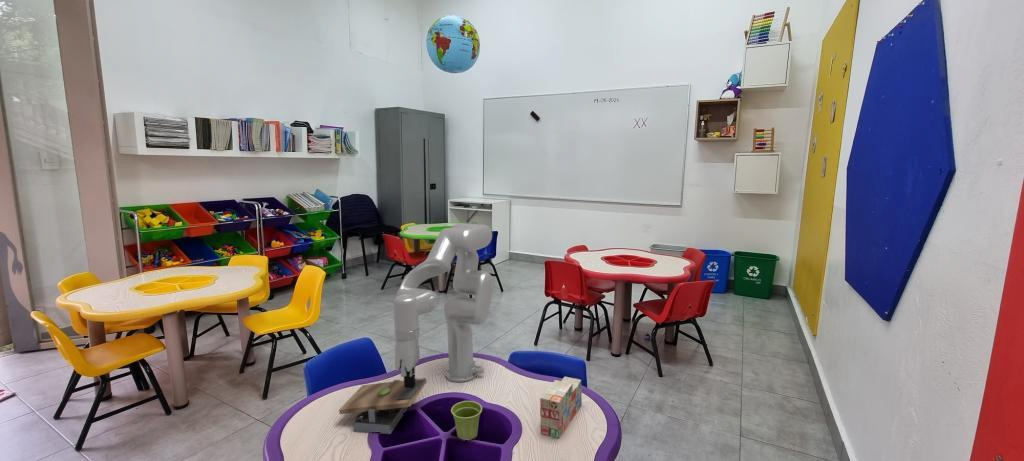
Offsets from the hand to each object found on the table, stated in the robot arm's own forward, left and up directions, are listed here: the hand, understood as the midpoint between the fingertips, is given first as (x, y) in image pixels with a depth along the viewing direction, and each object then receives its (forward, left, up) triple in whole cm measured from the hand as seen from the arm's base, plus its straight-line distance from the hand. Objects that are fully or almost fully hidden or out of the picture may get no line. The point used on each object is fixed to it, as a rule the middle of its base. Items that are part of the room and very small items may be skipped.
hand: (410, 386), depth 147 cm
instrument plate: (+9, 0, -5) cm, 10 cm away
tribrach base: (+9, 0, -11) cm, 14 cm away
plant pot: (-21, +8, -11) cm, 25 cm away
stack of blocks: (-50, -4, -11) cm, 51 cm away
